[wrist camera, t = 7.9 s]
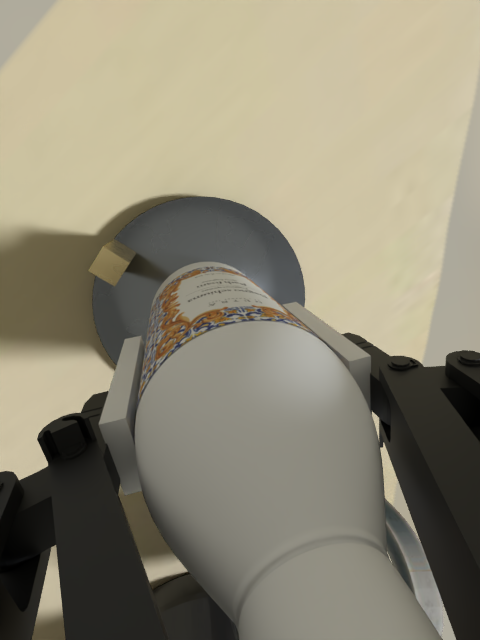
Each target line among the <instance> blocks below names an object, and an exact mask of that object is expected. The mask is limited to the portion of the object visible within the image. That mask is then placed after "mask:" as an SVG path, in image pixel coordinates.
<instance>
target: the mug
mask: <svg viewBox="0 0 480 640" xmlns="http://www.w3.org/2000/svg"><path fill="white" fill-rule="evenodd" d="M385 517H386V541H387V552H388V554H389V556H390V558H391V561H392V563H393V565H394V567H395V568H396V569H397V571H398V572H399V574H400V575H401V577H402V578H403V580H404V581H405V583H406V584H407V586H408V587H409V588H410V590H411V591H412V593H413V594H414V596H415V598H416V599H417V601H418V602H419V604H420V605H421V607H422V608H423V610H424V611H425V613H426V614H427V616H428V617H429V619H430V620H431V622H432V624H433V625H434V627H435V628H436V630H437V631H438V633H439V634H440V636H442V631H443V625H444V623H443V605H442V600H441V596H440V593H439V591H438V588H437V585H436V582H435V580H434V577H433V574H432V571H431V569H430V566H429V563H428V561H427V558H426V555H425V552H424V550H423V547H422V544H421V542H420V541H419V539H418V538H417V536H416V534H415V533H414V531H413V530H412V528H411V527H410V526H409V524H408V523H407V521H406V520H405V519H404V518H403V517H402V516H401V514H400V513H399V512H398V511H397V510H396V509H395V508H394V507H393V506H392V505H391V504H390V503H389V502H388V501H387V500H386V499H385Z"/></svg>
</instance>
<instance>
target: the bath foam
mask: <svg viewBox="0 0 480 640" xmlns="http://www.w3.org/2000/svg"><path fill="white" fill-rule="evenodd" d="M135 451H136V462H137V469H138V475H139V481H140V485H141V488H142V492H143V496H144V499H145V502H146V504H147V507H148V509H149V512H150V514H151V517H152V519H153V521H154V523H155V524H156V526H157V528H158V530H159V532H160V533H161V535H162V537H163V538H164V540H165V541H166V543H167V544H168V546H169V547H170V548H171V550H172V551H173V553H174V554H175V555H176V557H177V558H178V559H179V560H180V562H181V563H182V564H183V565H184V567H185V568H186V569H187V570H188V572H189V573H190V574H191V575H192V576H193V577H194V579H195V580H196V581H197V582H198V583H199V584H200V585H201V587H202V588H203V589H204V590H205V591H206V592H207V593H208V594H209V596H210V597H211V598H212V599H213V600H214V601H215V602H216V603H217V605H218V606H219V607H220V608H221V609H222V610H223V611H224V612H225V613H226V615H227V616H228V617H229V618H230V619H231V620H232V621H233V622H234V624H235V625H236V628H237V630H238V632H239V640H443V639H442V638H441V636H440V634H439V633H438V631H437V630H436V628H435V627H434V625H433V624H432V622H431V620H430V619H429V617H428V616H427V614H426V613H425V611H424V610H423V608H422V607H421V605H420V604H419V602H418V601H417V599H416V598H415V596H414V594H413V593H412V591H411V590H410V588H409V587H408V586H407V584H406V583H405V581H404V580H403V578H402V577H401V575H400V574H399V572H398V571H397V569H396V568H395V567H394V565H393V564H392V563H391V561H390V559H389V556H388V554H387V541H386V517H385V496H384V479H383V467H382V458H381V452H380V445H379V440H378V436H377V432H376V428H375V424H374V421H373V418H372V415H371V412H370V410H369V407H368V404H367V402H366V400H365V398H364V396H363V394H362V392H361V390H360V388H359V386H358V385H357V383H356V381H355V380H354V378H353V377H352V375H351V373H350V372H349V371H348V369H347V368H346V366H345V365H344V364H343V362H342V361H341V360H340V359H339V358H338V356H337V355H336V354H335V352H334V351H333V350H332V349H331V348H330V347H329V346H328V345H327V344H326V343H325V342H324V341H323V340H321V339H320V338H319V337H318V336H317V335H316V334H314V333H313V332H312V331H311V330H310V329H308V328H307V327H306V326H305V325H304V324H303V323H301V322H300V321H299V320H298V319H297V318H295V317H294V316H293V315H292V314H291V313H289V312H288V311H287V310H286V309H285V308H284V307H282V306H281V305H280V304H279V303H278V302H276V301H275V300H274V299H273V298H272V297H271V296H269V295H268V294H267V293H266V292H265V291H263V290H262V289H261V288H260V287H259V286H258V285H256V284H255V283H254V282H253V281H252V280H250V279H249V278H248V277H246V276H245V275H244V274H243V273H241V272H240V271H238V270H237V269H235V268H233V267H231V266H229V265H226V264H222V263H218V262H198V263H193V264H190V265H187V266H184V267H182V268H180V269H179V270H177V271H175V272H174V273H173V274H171V275H170V276H169V277H168V278H167V279H166V280H165V281H164V282H163V283H162V285H161V286H160V287H159V289H158V291H157V293H156V295H155V297H154V300H153V303H152V307H151V313H150V318H149V325H148V332H147V339H146V346H145V353H144V360H143V367H142V374H141V380H140V387H139V394H138V401H137V408H136V415H135Z"/></svg>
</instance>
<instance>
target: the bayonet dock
mask: <svg viewBox="0 0 480 640" xmlns="http://www.w3.org/2000/svg"><path fill="white" fill-rule="evenodd" d="M198 262H218V263H222V264H226V265H229V266H231V267H233V268H235V269H237V270H238V271H240V272H241V273H243V274H244V275H245V276H246V277H248V278H249V279H250V280H252V281H253V282H254V283H255V284H256V285H258V286H259V287H260V288H261V289H262V290H263V291H265V292H266V293H267V294H268V295H269V296H271V297H272V298H273V299H274V300H275V301H276V302H278V303H279V304H280V305H281V306H282V305H283V304H288V303H293V302H297V303H299V304H300V305H301V306H303V307H304V305H305V287H304V280H303V275H302V271H301V268H300V264H299V262H298V259H297V257H296V255H295V253H294V251H293V249H292V247H291V246H290V244H289V242H288V241H287V239H286V238H285V237H284V236H283V234H282V233H281V232H280V231H279V230H278V229H277V228H276V227H275V226H274V225H273V224H272V223H271V222H270V221H269V220H268V219H266V218H265V217H263V216H262V215H260V214H259V213H258V212H256V211H254V210H252V209H250V208H248V207H246V206H244V205H242V204H239V203H236V202H233V201H230V200H225V199H220V198H215V197H189V198H181V199H177V200H173V201H169V202H166V203H163V204H161V205H158V206H156V207H153V208H151V209H150V210H148V211H146V212H144V213H142V214H141V215H139V216H138V217H137V218H135V219H134V220H133V221H131V222H130V223H129V224H127V225H126V227H125V228H124V229H123V230H122V231H121V232H120V233H119V234H118V235H117V236H116V237H115V239H114V240H112V241H111V242H109V243H108V244H106V245H104V246H103V247H102V249H101V250H100V252H99V254H98V255H97V257H96V258H95V260H94V262H93V263H92V265H91V267H90V268H89V270H88V271H89V272H91V273H92V274H94V275H96V277H95V282H94V287H93V301H92V306H93V315H94V321H95V325H96V329H97V333H98V335H99V337H100V340H101V342H102V345H103V346H104V348H105V350H106V351H107V353H108V355H109V357H110V358H111V359H112V360H113V362H114V363H115V364H116V365H117V363H118V360H119V357H120V353H121V350H122V347H123V344H124V340H125V339H128V338H133V337H137V336H141V337H142V340H143V344H144V347H145V346H146V339H147V332H148V325H149V318H150V313H151V307H152V303H153V300H154V297H155V295H156V293H157V291H158V289H159V287H160V286H161V285H162V283H163V282H164V281H165V280H166V279H167V278H168V277H169V276H170V275H171V274H173V273H174V272H175V271H177V270H179V269H180V268H182V267H184V266H187V265H190V264H193V263H198Z"/></svg>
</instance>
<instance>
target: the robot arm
mask: <svg viewBox="0 0 480 640" xmlns="http://www.w3.org/2000/svg"><path fill="white" fill-rule="evenodd" d="M282 307H284V308H285V309H286V310H287V311H288V312H289V313H291V314H292V315H293V316H294V317H295V318H297V319H298V320H299V321H300V322H301V323H303V324H304V325H305V326H306V327H307V328H308V329H310V330H311V331H312V332H313V333H314V334H316V335H317V336H318V337H319V338H320V339H321V340H323V341H324V342H325V343H326V344H327V345H328V346H329V347H330V348H331V349H332V350H333V351H334V352H335V354H336V355H337V356H338V358H339V359H340V360H341V361H342V362H343V364H344V365H345V366H346V368H347V369H348V371H349V372H350V373H351V375H352V377H353V378H354V380H355V381H356V383H357V385H358V386H359V388H360V390H361V392H362V394H363V396H364V398H365V400H366V402H367V404H368V407H369V410H370V412H371V415H372V411H373V412H374V413H375V414H376V415H377V416H378V417H379V445H380V447H383V442H384V443H385V446H386V449H387V451H388V454H389V457H390V460H391V462H392V465H393V468H394V470H395V473H396V476H397V479H398V481H399V484H400V487H401V490H402V492H403V495H404V498H405V500H406V503H407V506H408V508H409V511H410V514H411V517H412V520H413V522H414V525H415V528H416V530H417V533H418V536H419V539H420V541H421V544H422V547H423V550H424V552H425V555H426V558H427V561H428V563H429V566H430V569H431V571H432V574H433V577H434V580H435V582H436V585H437V588H438V591H439V593H440V596H441V599H442V601H443V604H444V607H445V610H446V612H447V615H448V618H449V620H450V623H451V626H452V628H453V631H454V634H455V637H456V640H480V353H477V352H475V351H464V350H463V351H456V352H452V353H449V354H448V355H447V356H446V365H445V366H436V367H424V366H423V365H422V364H421V363H420V362H419V361H417V360H415V359H413V358H410V357H405V356H389V355H388V354H386V353H385V352H383V351H382V350H380V349H379V348H377V347H376V346H373V344H371V343H369V342H367V341H366V340H365V339H363V338H362V337H360V336H358V335H355V334H351V333H345V334H340V333H339V332H337V331H336V330H335V329H333V328H332V327H330V326H329V325H328V324H326V323H325V322H323V321H322V320H321V319H319V318H318V317H317V316H315V315H314V314H312V313H311V312H310V311H308V310H307V309H305V308H304V307H303V306H301V305H300V304H299V303H297V302H293V303H288V304H283V305H282ZM144 353H145V347H144V344H143V340H142V337H141V336H137V337H133V338H128V339H125V340H124V344H123V347H122V350H121V353H120V357H119V360H118V363H117V366H116V370H115V373H114V376H113V379H112V383H111V386H110V389H109V391H107V392H103V393H99V394H94V395H93V396H92V397H91V398H90V399H89V400H88V401H87V402H86V403H85V404H84V406H83V409H82V411H81V413H73V414H69V415H66V416H63V417H60V418H58V419H56V420H54V421H52V422H51V423H50V424H48V425H47V426H45V427H44V428H43V429H42V431H41V432H40V433H39V435H38V438H37V440H38V442H39V444H40V446H41V448H42V451H43V453H44V455H45V457H46V459H47V461H48V467H46V468H44V469H42V470H40V471H39V472H36V473H34V474H32V475H30V476H28V477H26V478H24V479H21V480H18V478H17V476H16V475H15V474H14V473H13V472H9V471H4V472H0V640H32V635H33V631H34V626H35V621H36V617H37V612H38V607H39V603H40V598H41V593H42V589H43V584H44V580H45V575H46V570H47V566H48V561H49V556H50V552H51V547H53V546H54V545H56V547H57V557H58V567H59V577H60V588H61V598H62V608H63V618H64V628H65V638H66V640H239V632H238V630H237V628H236V625H235V624H234V622H233V621H232V620H231V619H230V618H229V617H228V616H227V615H226V613H225V612H224V611H223V610H222V609H221V608H220V607H219V606H218V605H217V603H216V602H215V601H214V600H213V599H212V598H211V597H210V596H209V594H208V593H207V592H206V591H205V590H204V589H203V588H202V587H201V585H200V584H199V583H198V582H197V581H196V580H195V579H194V577H193V576H192V575H191V574H189V575H185V576H182V577H179V578H176V579H174V580H172V581H169V582H167V583H165V584H163V585H161V586H159V587H158V588H156V589H154V590H153V591H152V589H151V586H150V583H149V580H148V577H147V574H146V572H145V569H144V566H143V563H142V560H141V557H140V555H139V552H138V549H137V546H136V543H135V540H134V538H133V535H132V532H131V529H130V526H129V523H128V521H127V518H126V515H125V512H124V509H123V506H122V504H121V501H120V499H119V496H118V492H119V486H120V484H121V487H122V489H123V492H124V495H129V494H132V493H136V492H139V491H142V488H141V485H140V481H139V475H138V469H137V462H136V451H135V415H136V408H137V401H138V394H139V387H140V380H141V374H142V367H143V360H144Z"/></svg>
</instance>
